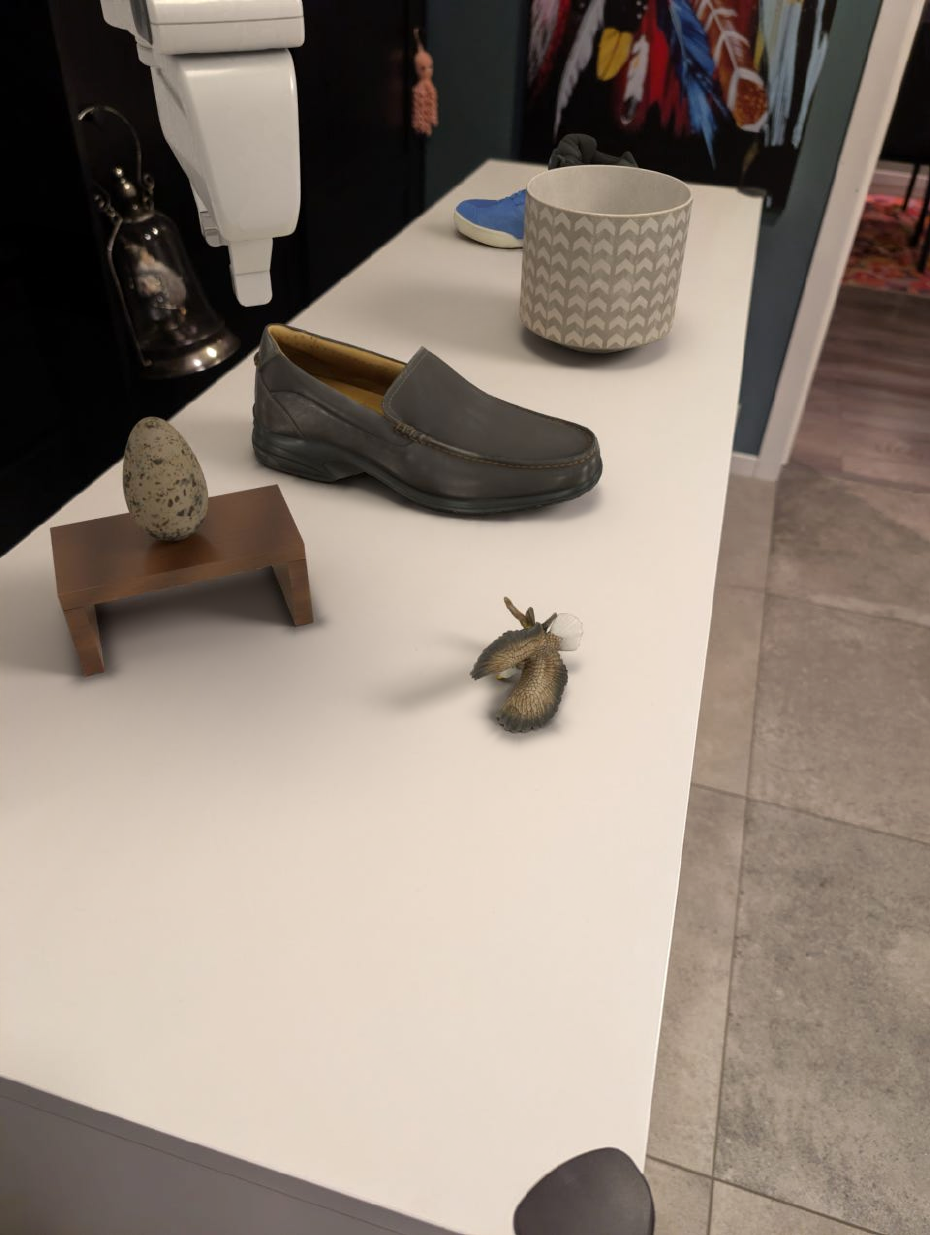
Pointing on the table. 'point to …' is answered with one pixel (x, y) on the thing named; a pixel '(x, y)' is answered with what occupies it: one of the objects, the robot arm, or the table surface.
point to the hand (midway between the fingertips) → (235, 269)
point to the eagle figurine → (531, 666)
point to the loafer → (410, 428)
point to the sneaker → (506, 216)
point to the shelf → (175, 560)
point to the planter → (603, 255)
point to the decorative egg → (163, 481)
